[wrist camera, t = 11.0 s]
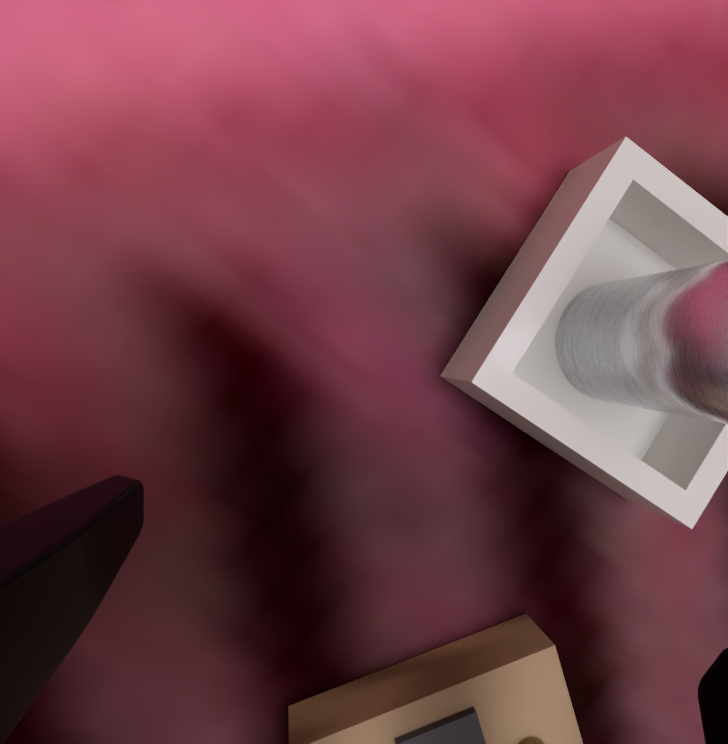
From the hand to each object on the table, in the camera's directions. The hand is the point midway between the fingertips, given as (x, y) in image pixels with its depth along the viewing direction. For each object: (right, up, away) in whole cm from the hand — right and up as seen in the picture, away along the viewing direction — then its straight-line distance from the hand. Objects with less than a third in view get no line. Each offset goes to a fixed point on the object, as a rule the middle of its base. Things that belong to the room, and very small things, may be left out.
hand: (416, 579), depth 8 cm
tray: (+9, +4, +14) cm, 17 cm away
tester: (+2, -11, +14) cm, 18 cm away
